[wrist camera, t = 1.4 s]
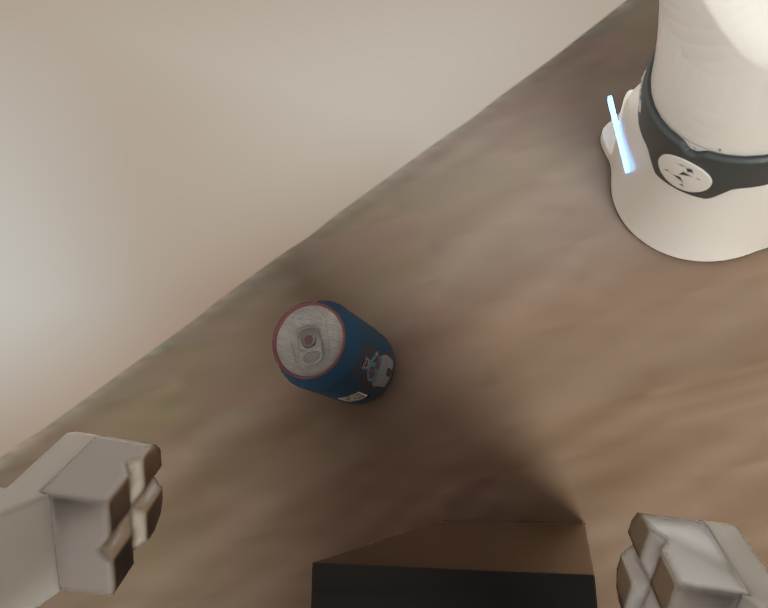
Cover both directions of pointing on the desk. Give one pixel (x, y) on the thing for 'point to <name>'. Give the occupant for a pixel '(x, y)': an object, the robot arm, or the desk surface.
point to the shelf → (463, 568)
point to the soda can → (332, 352)
